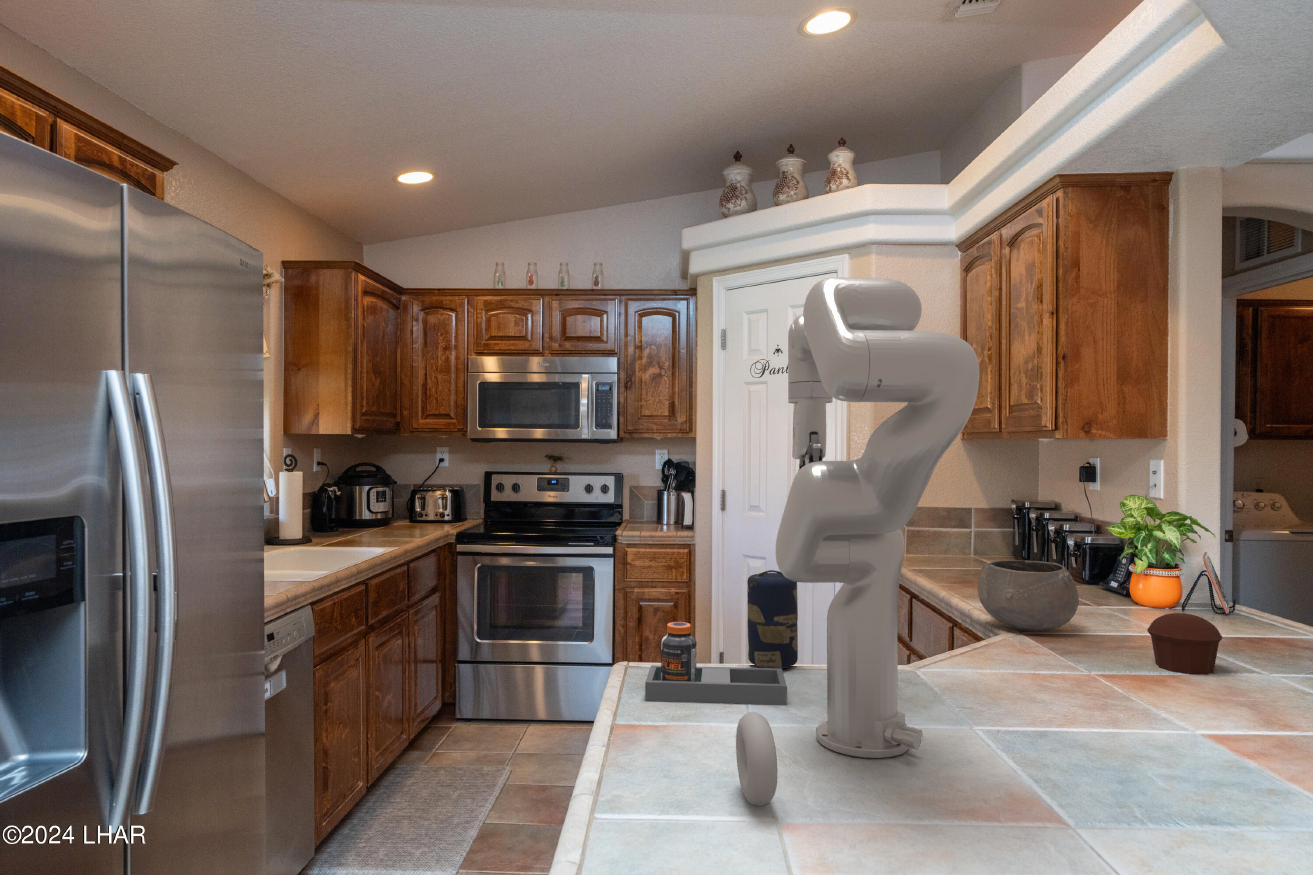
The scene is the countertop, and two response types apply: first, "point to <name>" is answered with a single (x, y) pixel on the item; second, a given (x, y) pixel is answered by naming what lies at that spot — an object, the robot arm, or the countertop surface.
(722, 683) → the frame
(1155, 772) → the countertop surface
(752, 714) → the donut
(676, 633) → the pill bottle
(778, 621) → the canister
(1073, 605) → the clay pot
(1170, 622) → the muffin
